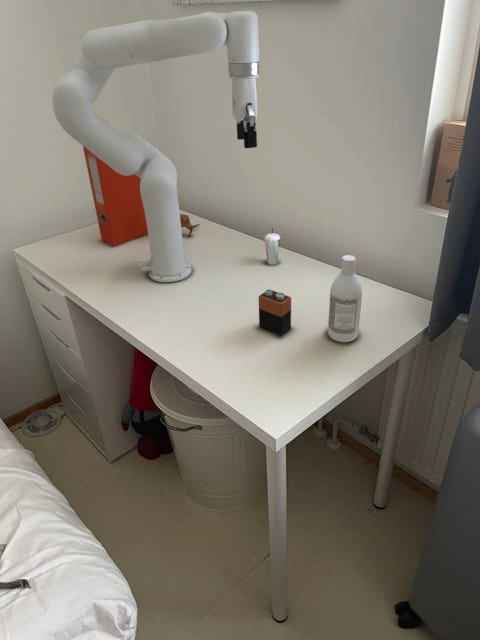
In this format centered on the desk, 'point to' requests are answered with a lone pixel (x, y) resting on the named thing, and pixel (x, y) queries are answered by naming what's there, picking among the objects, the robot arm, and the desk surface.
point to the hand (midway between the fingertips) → (246, 143)
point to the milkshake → (272, 247)
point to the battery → (275, 312)
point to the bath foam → (345, 303)
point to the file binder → (116, 202)
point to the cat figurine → (187, 223)
